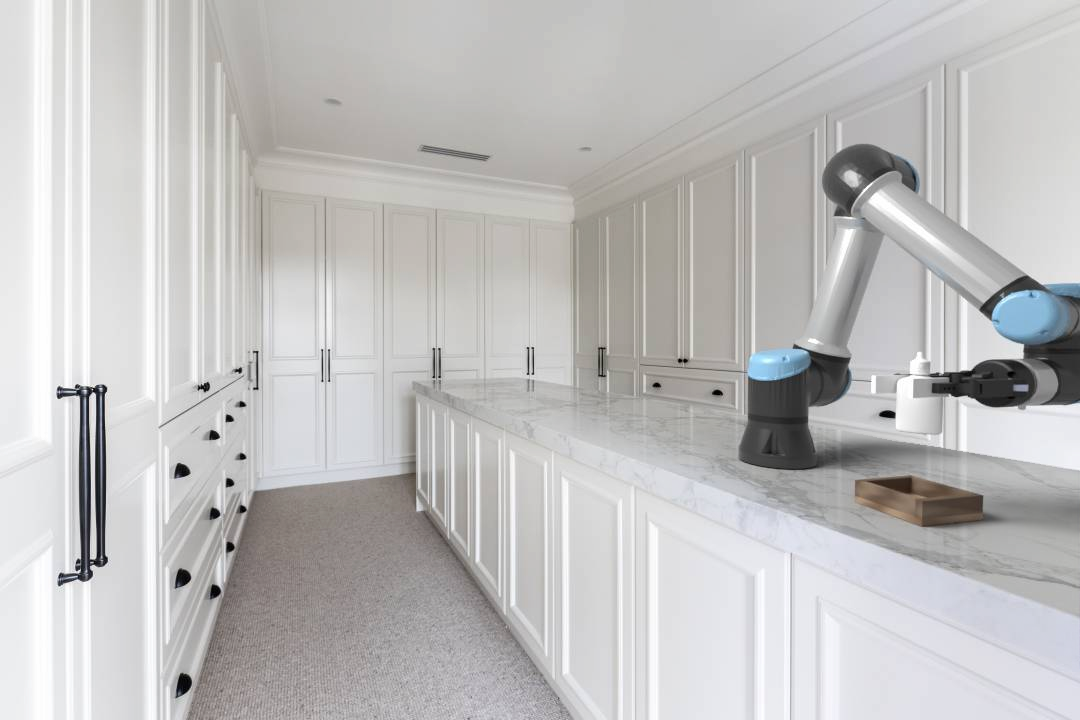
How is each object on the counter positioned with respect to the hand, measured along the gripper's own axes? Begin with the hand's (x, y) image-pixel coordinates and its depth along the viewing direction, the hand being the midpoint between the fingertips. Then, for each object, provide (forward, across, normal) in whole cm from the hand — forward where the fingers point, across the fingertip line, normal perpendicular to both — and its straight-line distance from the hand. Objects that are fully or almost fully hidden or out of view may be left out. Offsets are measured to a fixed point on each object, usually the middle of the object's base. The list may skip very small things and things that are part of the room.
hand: (891, 386), depth 75 cm
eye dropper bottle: (-5, 0, -7) cm, 9 cm away
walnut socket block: (-5, 0, -19) cm, 19 cm away
